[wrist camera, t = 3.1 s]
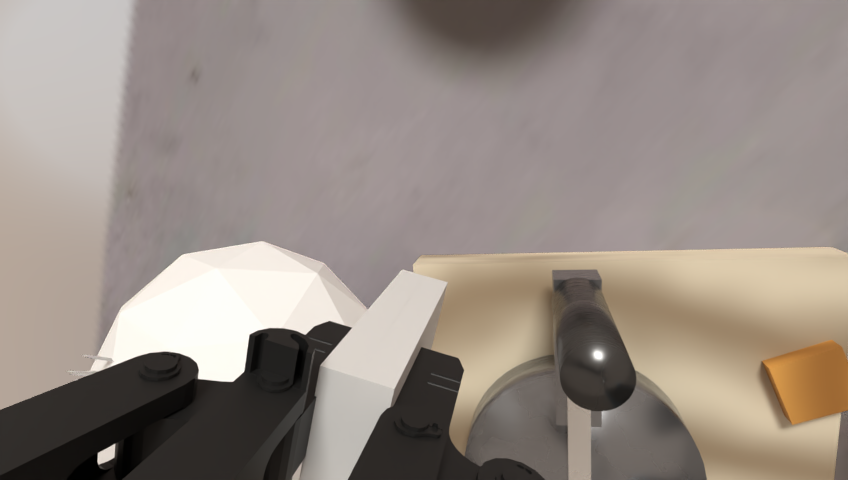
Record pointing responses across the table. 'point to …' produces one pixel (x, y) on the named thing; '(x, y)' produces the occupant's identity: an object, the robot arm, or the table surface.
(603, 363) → the crank dial
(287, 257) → the geodesic sphere
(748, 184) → the table surface
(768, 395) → the wooden activity board
